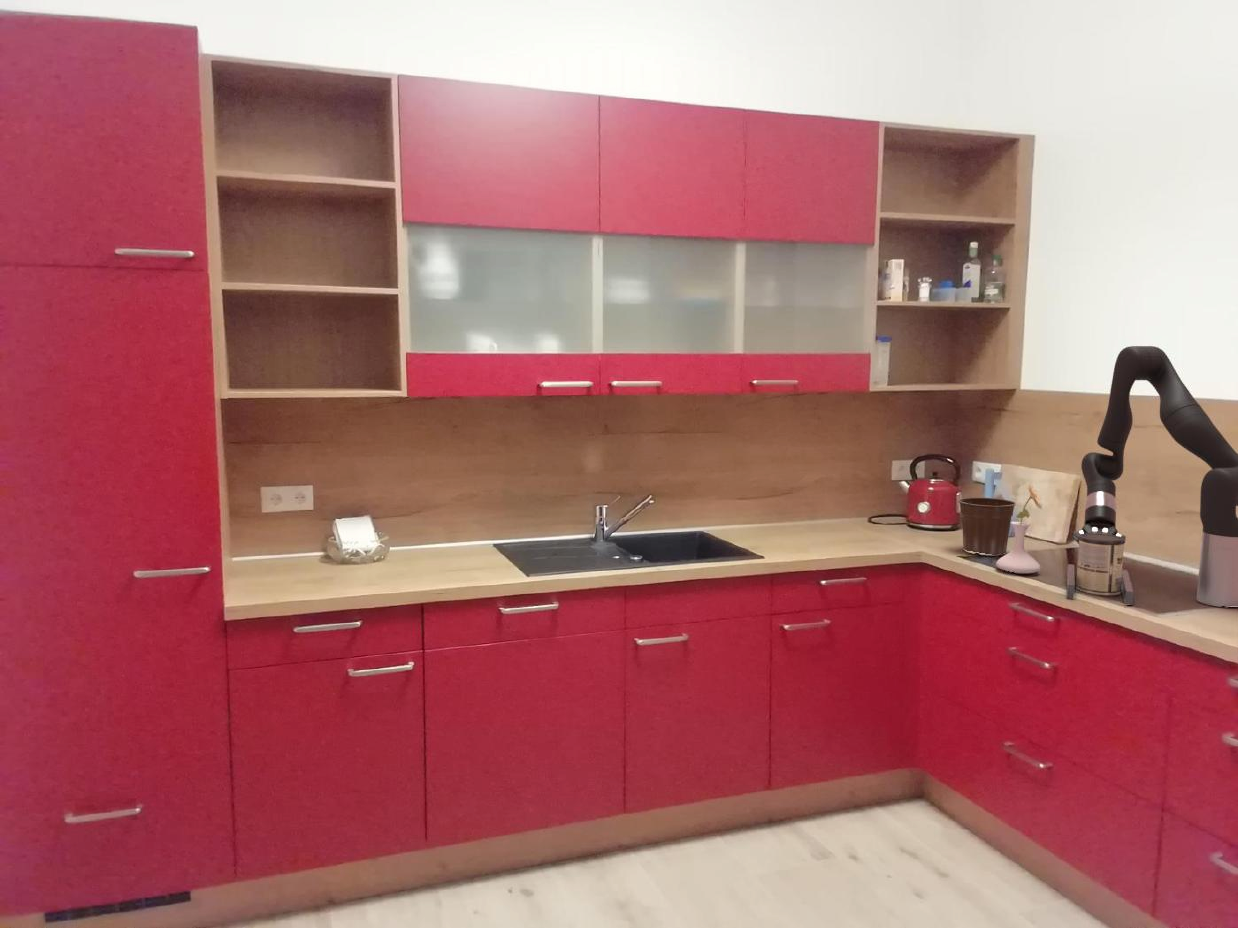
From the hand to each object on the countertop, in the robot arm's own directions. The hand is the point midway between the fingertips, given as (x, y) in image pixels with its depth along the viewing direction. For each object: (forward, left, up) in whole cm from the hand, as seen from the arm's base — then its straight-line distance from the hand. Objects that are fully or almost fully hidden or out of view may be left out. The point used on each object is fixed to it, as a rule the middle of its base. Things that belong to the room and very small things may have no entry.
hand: (1098, 564), depth 229 cm
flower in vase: (+19, -4, -5) cm, 20 cm away
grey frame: (0, +9, -5) cm, 10 cm away
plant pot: (+30, -26, -5) cm, 40 cm away
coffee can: (0, +9, -5) cm, 10 cm away
